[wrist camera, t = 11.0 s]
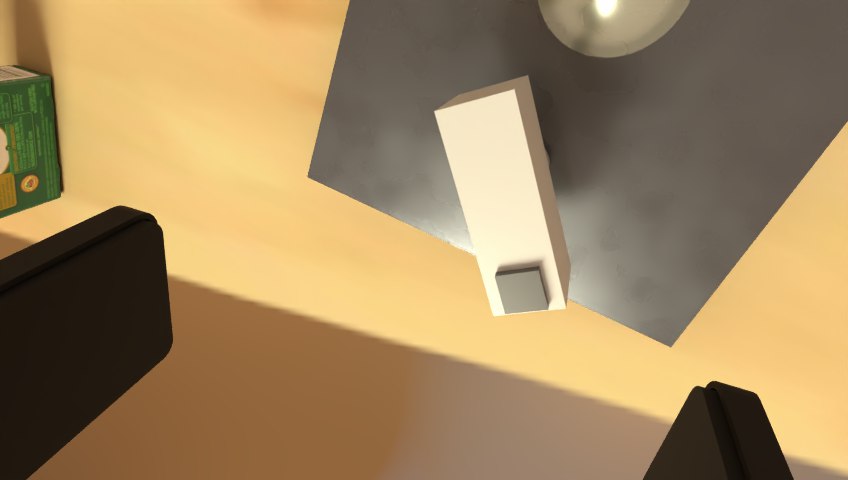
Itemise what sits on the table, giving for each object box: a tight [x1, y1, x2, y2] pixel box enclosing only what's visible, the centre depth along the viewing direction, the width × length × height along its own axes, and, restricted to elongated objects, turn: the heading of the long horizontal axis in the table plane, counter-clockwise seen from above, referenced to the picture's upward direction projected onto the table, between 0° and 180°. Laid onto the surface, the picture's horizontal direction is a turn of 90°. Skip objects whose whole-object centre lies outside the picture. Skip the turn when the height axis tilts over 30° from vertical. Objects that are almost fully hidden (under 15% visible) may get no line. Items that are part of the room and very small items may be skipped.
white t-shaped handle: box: [434, 75, 571, 316], centre depth 18 cm, size 7×2×6 cm, turn 18°
